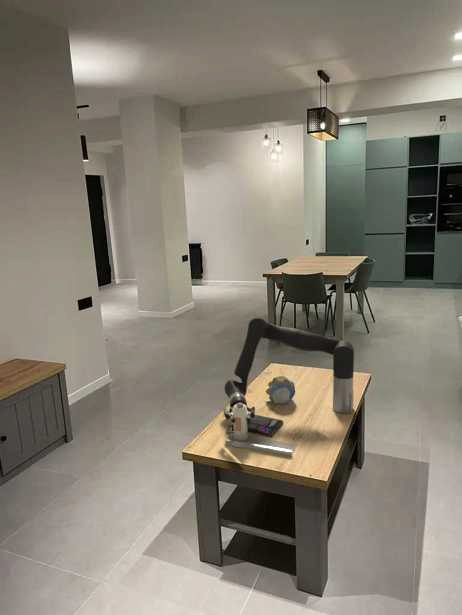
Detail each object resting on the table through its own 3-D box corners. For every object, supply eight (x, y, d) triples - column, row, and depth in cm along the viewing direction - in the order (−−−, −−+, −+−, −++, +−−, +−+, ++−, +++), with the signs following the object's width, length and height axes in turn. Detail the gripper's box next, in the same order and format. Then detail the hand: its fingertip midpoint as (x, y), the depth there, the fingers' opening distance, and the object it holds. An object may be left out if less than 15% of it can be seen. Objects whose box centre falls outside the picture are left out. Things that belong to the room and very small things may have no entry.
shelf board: (297, 447, 189) (297, 444, 189) (291, 459, 180) (291, 456, 180) (234, 436, 200) (234, 433, 199) (225, 447, 191) (225, 445, 190)
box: (231, 433, 205) (272, 441, 196) (230, 425, 204) (271, 433, 195) (244, 419, 217) (283, 426, 208) (244, 412, 216) (283, 419, 207)
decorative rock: (281, 378, 221) (297, 370, 233) (255, 381, 231) (272, 373, 243) (288, 406, 221) (304, 397, 233) (262, 408, 231) (278, 399, 243)
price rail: (292, 455, 181) (292, 450, 181) (291, 456, 180) (291, 452, 180) (226, 443, 192) (226, 439, 191) (225, 445, 190) (224, 440, 190)
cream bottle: (237, 433, 197) (236, 400, 193) (249, 435, 195) (248, 402, 191) (232, 439, 192) (231, 406, 188) (244, 442, 190) (243, 407, 186)
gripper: (221, 396, 204) (223, 413, 188) (253, 394, 205) (258, 411, 188) (222, 412, 206) (223, 430, 189) (254, 410, 206) (258, 428, 190)
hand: (240, 421), depth 189 cm, fingers closed on cream bottle, 5 cm apart
